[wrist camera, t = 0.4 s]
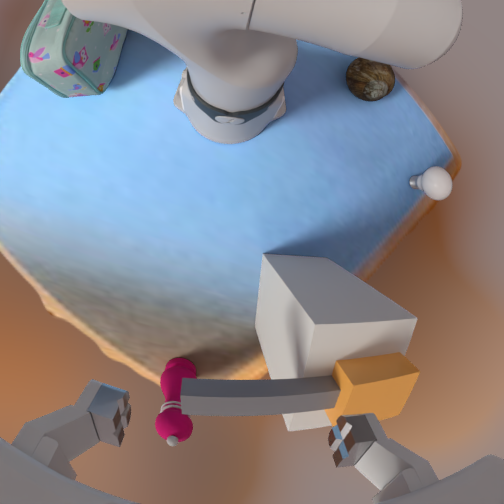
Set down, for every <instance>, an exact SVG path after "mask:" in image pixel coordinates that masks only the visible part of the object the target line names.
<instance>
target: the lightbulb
mask: <svg viewBox="0 0 504 504" xmlns="http://www.w3.org/2000/svg"><path fill="white" fill-rule="evenodd" d="M410 186H411V187H412V188H413V189H420V190H422V191H424V192H425V194H426V195H427V196H428V197H430V198H431V199H434V200H443V199H445V198H447V197H448V196H449V194H450V193H451V191H452V179H451V176H450V175H449V173H448V172H447V171H446V170H445V169H443V168H441V167H438V166H434V167H430V168H428V169H427V170H426V171H425V172H424V174H422V175H420V176H412V177H411V178H410Z"/></svg>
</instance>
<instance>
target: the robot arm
mask: <svg viewBox="0 0 504 504" xmlns="http://www.w3.org/2000/svg"><path fill="white" fill-rule="evenodd" d="M61 1H62V3H63V5H64V6H65V7H66V8H67V9H68V11H69V12H70V13H71V14H72V15H74V16H75V17H77V18H79V19H81V20H87V21H95V22H101V23H107V24H112V25H116V26H120V27H123V28H126V29H129V30H132V31H135V32H137V33H140V34H142V35H144V36H146V37H148V38H150V39H152V40H153V41H155V42H157V43H159V44H160V45H162V46H164V47H165V48H167V49H168V50H170V51H171V52H173V53H174V54H175V55H177V56H178V57H180V58H181V59H182V60H183V61H184V62H185V63H186V66H187V67H186V69H185V70H184V71H183V73H182V79H181V81H180V84H179V86H178V89H177V91H176V94H175V96H174V99H173V102H174V105H175V107H177V108H178V109H179V110H180V111H182V112H183V113H185V114H186V116H187V117H188V119H189V121H190V122H191V124H192V126H193V127H194V128H195V129H196V131H198V132H199V133H200V134H201V135H202V136H204V137H205V138H207V139H209V140H212V141H214V142H218V143H223V144H235V143H241V142H244V141H247V140H249V139H251V138H253V137H255V136H256V135H258V134H259V133H260V132H261V131H262V130H263V129H264V128H265V127H266V126H267V125H268V124H269V123H270V122H271V121H273V120H276V119H278V118H280V117H282V116H283V115H284V114H285V112H286V104H285V97H284V90H283V85H284V81H285V80H286V78H287V77H288V75H289V74H290V72H291V71H292V69H293V68H294V66H295V63H296V60H297V54H298V48H297V42H296V39H297V40H301V41H304V42H308V43H311V44H315V45H318V46H321V47H325V48H328V49H331V50H334V51H337V52H339V53H342V54H345V55H349V56H354V57H359V58H363V59H368V60H372V61H376V62H380V63H384V64H389V65H393V66H397V67H400V68H404V69H417V68H421V67H424V66H426V65H429V64H431V63H433V62H435V61H436V60H438V59H439V58H441V57H442V56H443V55H445V54H446V53H447V52H448V51H449V50H450V48H451V47H452V46H453V45H454V43H455V41H456V40H457V37H458V35H459V33H460V30H461V25H462V19H463V9H462V2H461V0H61ZM129 398H130V397H129V392H128V391H125V390H122V389H119V388H116V387H113V386H110V385H107V384H105V383H101V382H98V381H96V380H93V379H92V380H91V381H89V383H88V384H87V386H86V387H85V389H84V391H83V392H82V394H81V395H80V397H79V399H78V400H77V402H76V403H75V405H74V406H73V405H69V406H67V407H64V408H62V409H59V410H57V411H55V412H52V413H50V414H47V415H45V416H42V417H40V418H37V419H35V420H32V421H29V422H26V423H25V424H24V426H23V428H22V429H21V430H20V432H19V434H18V435H17V436H16V438H15V439H14V441H13V443H12V444H9V443H8V442H6V441H5V440H4V439H2V438H1V437H0V504H140V503H136V502H132V501H129V500H126V499H123V498H120V497H116V496H113V495H110V494H107V493H105V492H102V491H100V490H97V489H94V488H92V487H89V486H87V485H85V484H82V483H80V482H78V481H75V478H76V473H75V471H74V470H73V468H72V466H71V465H70V463H69V462H70V461H71V460H73V459H74V458H76V457H77V456H79V455H80V454H82V453H84V452H85V451H87V450H88V449H90V448H91V447H92V446H94V445H95V444H97V443H98V442H99V441H102V442H105V443H108V444H112V445H115V446H118V447H120V445H121V443H122V440H123V438H124V430H123V429H124V428H126V427H128V424H129V421H130V417H131V405H130V404H129V403H128V400H129ZM336 422H337V425H336V426H334V427H333V428H332V429H331V431H330V433H329V437H328V441H329V446H330V448H331V449H332V450H333V451H335V452H334V454H333V459H334V462H335V465H336V467H345V466H354V465H355V466H354V467H355V468H356V469H358V470H359V471H360V472H361V473H362V474H363V475H364V476H365V477H366V478H367V479H368V480H370V481H371V482H372V483H373V484H374V485H375V486H376V487H377V488H379V489H380V490H381V491H380V492H379V493H377V494H376V495H375V496H374V497H373V499H372V500H373V503H374V504H504V459H501V458H499V457H497V456H494V455H487V456H485V457H483V458H481V459H480V460H478V461H476V462H475V463H473V464H471V465H469V466H467V467H466V468H464V469H462V470H460V471H458V472H456V473H454V474H452V475H450V476H448V477H446V478H444V479H442V480H438V478H437V476H436V474H435V472H434V471H433V469H432V467H431V465H430V463H429V462H428V461H427V460H425V459H424V458H422V457H420V456H418V455H417V454H415V453H413V452H412V451H410V450H409V449H407V448H405V447H404V446H402V445H400V444H399V443H397V442H396V441H394V440H393V439H391V438H390V439H388V438H387V436H386V434H385V432H384V430H383V428H382V426H381V425H380V423H379V421H378V419H377V417H376V415H375V414H374V413H365V414H352V415H341V416H340V417H338V419H337V420H336Z"/></svg>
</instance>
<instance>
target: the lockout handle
mask: <svg viewBox="0 0 504 504" xmlns="http://www.w3.org/2000/svg"><path fill="white" fill-rule="evenodd" d="M419 374H420V371H419V370H418V369H417V368H416V367H415V366H414V365H413V364H412V363H411V362H410V361H409V360H408V359H407V358H406V357H405V356H404V355H402V354H401V353H400V352H397V353H391V354H385V355H378V356H371V357H363V358H355V359H346V360H336V362H335V366H334V369H333V372H332V375H329V376H319V377H307V378H293V379H272V380H214V379H193V378H182V386H181V394H180V397H181V409H182V414H187V415H206V416H256V415H257V416H258V415H276V414H289V413H300V412H309V411H317V410H325V412H326V414H327V416H328V418H329V420H330V422H331V424H332V426H333V427H334V426H336V425H337V422H336V420H337V419H338V417H340V416H341V415H352V414H365V413H374V414H375V415H376V417H377V419H378V421H379V420H383V419H386V418H390V417H393V416H397V415H399V414H400V412H401V410H402V408H403V406H404V405H405V403H406V401H407V399H408V397H409V395H410V393H411V391H412V389H413V387H414V384H415V382H416V380H417V378H418V376H419Z"/></svg>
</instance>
